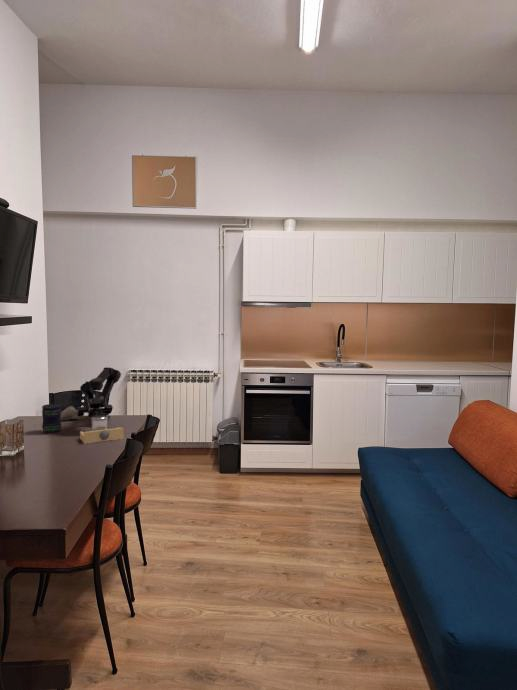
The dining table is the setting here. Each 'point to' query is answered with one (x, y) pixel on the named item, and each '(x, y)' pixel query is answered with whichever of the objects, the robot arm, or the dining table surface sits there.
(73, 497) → the dining table surface
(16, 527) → the dining table surface
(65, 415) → the pipe
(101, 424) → the door knob
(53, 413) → the storage jar
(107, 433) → the tan wooden u-frame
